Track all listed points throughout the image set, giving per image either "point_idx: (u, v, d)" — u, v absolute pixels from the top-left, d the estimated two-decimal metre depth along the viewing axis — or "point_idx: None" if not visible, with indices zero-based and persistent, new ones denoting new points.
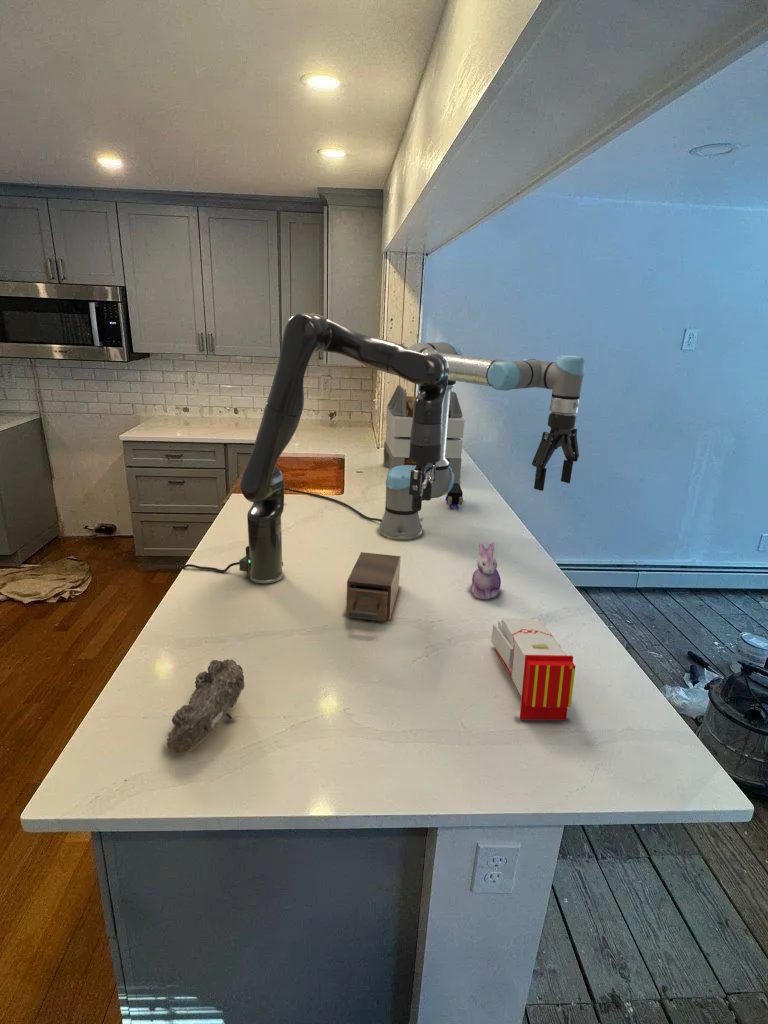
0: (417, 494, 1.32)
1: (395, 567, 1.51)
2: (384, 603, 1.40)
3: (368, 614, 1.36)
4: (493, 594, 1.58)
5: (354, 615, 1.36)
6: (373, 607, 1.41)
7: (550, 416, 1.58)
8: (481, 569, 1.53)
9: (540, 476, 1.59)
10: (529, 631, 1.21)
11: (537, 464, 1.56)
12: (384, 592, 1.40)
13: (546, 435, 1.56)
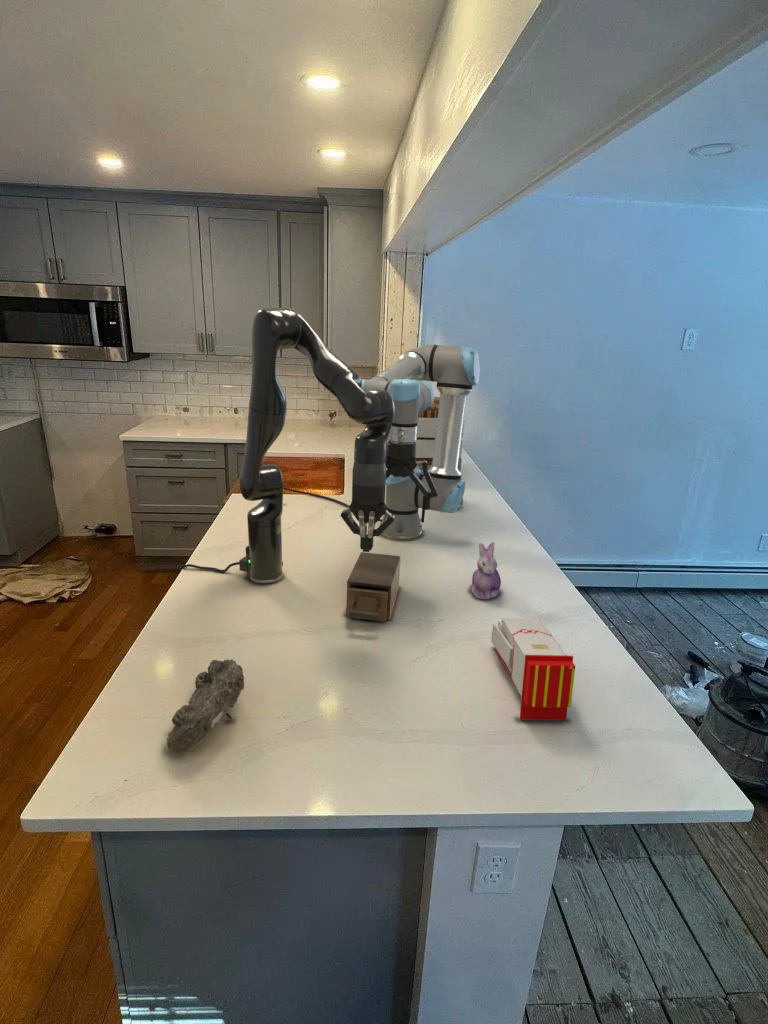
0: None
1: (395, 567, 1.51)
2: (384, 603, 1.40)
3: (368, 614, 1.36)
4: (493, 594, 1.58)
5: (353, 615, 1.36)
6: (373, 607, 1.41)
7: None
8: (481, 569, 1.53)
9: None
10: (529, 631, 1.21)
11: None
12: (384, 592, 1.40)
13: None
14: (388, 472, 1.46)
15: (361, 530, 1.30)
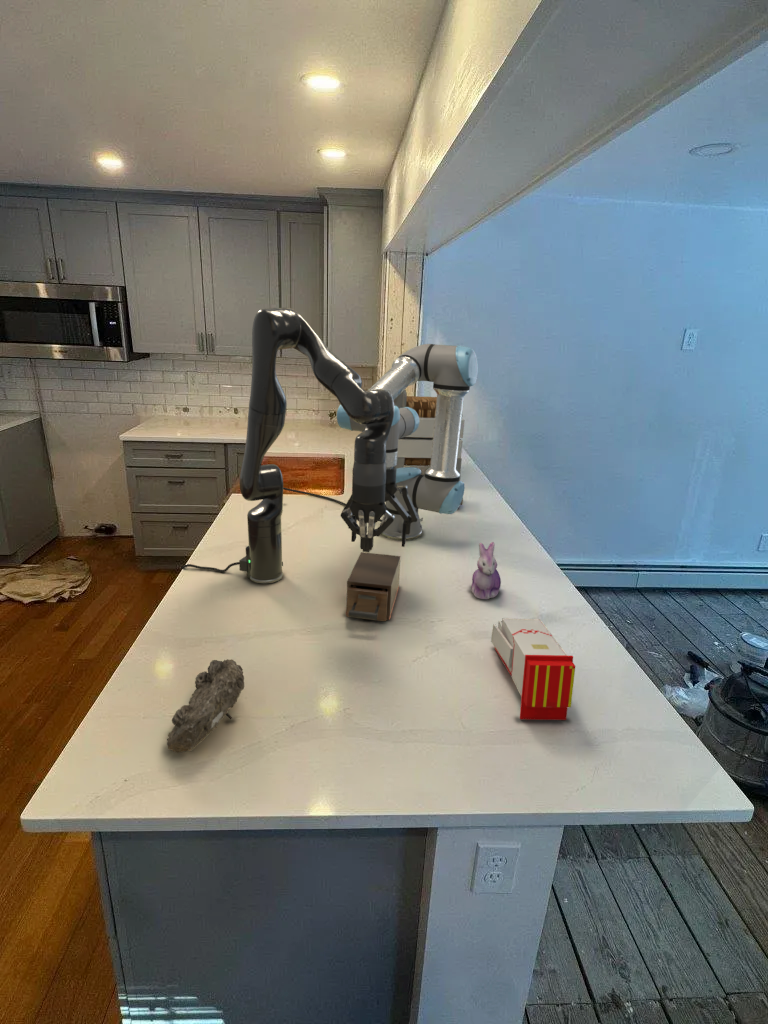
0: None
1: (395, 567, 1.51)
2: (384, 603, 1.40)
3: (368, 614, 1.36)
4: (493, 594, 1.58)
5: (354, 615, 1.36)
6: (373, 607, 1.41)
7: None
8: (481, 569, 1.53)
9: None
10: (529, 631, 1.21)
11: None
12: (384, 592, 1.40)
13: None
14: None
15: (361, 530, 1.30)
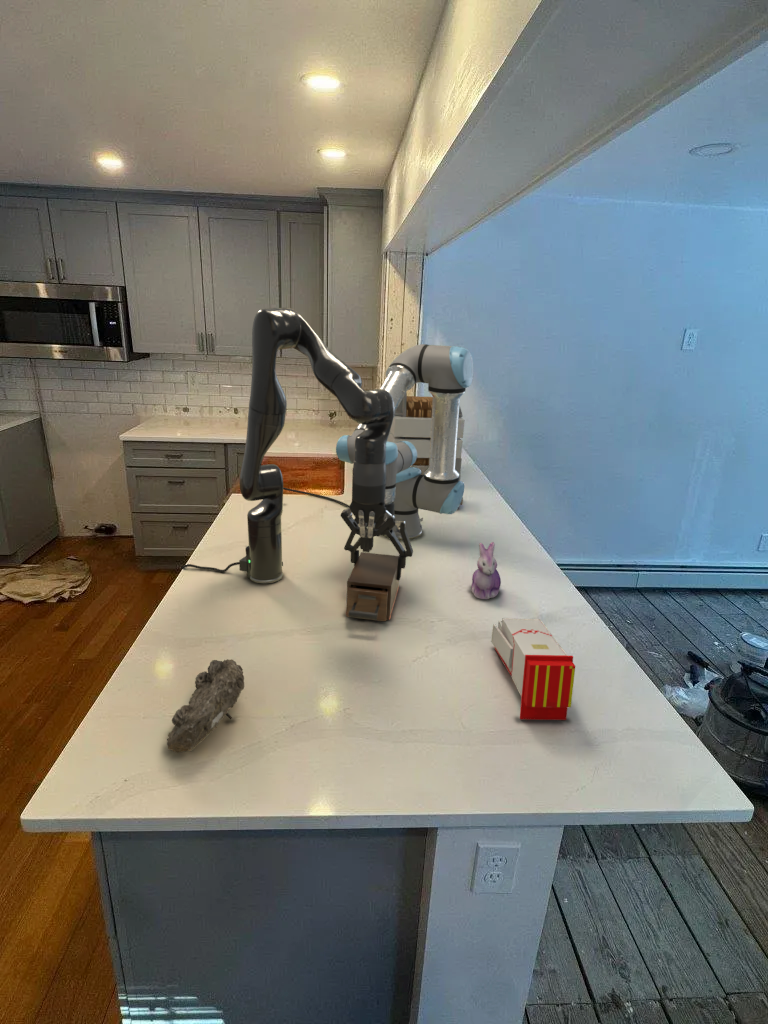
0: None
1: (395, 567, 1.51)
2: (384, 603, 1.40)
3: (368, 614, 1.36)
4: (493, 594, 1.58)
5: (354, 615, 1.36)
6: (373, 607, 1.41)
7: None
8: (481, 569, 1.53)
9: (352, 560, 1.55)
10: (529, 631, 1.21)
11: None
12: (384, 592, 1.40)
13: None
14: None
15: (361, 530, 1.30)
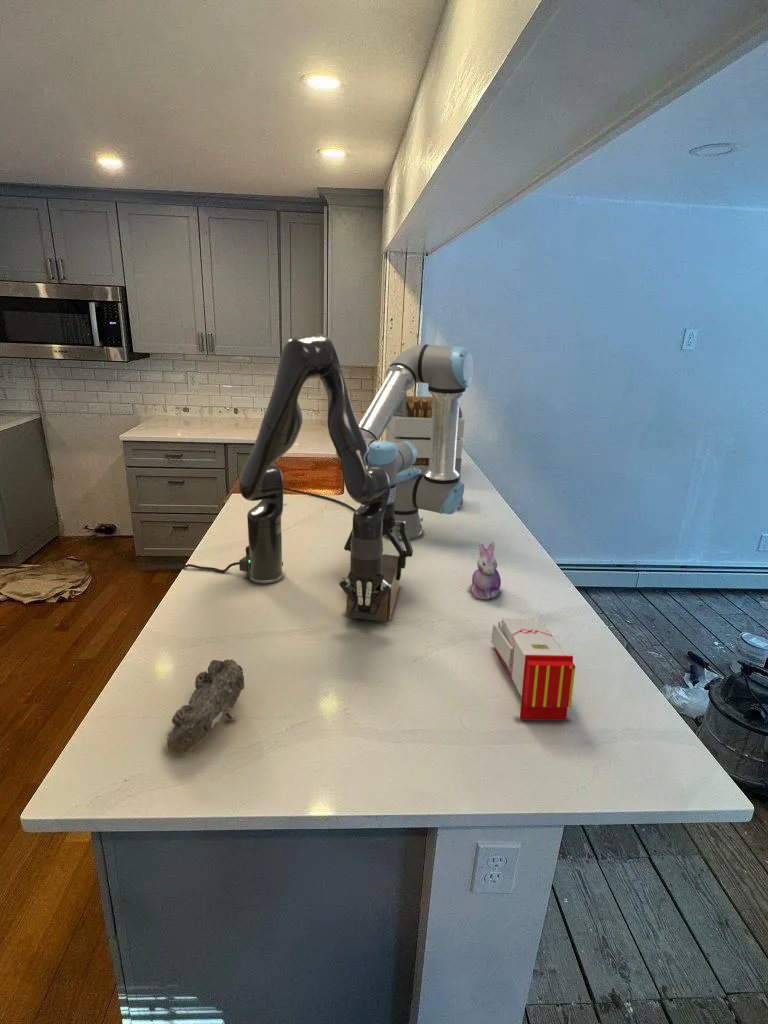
0: None
1: (395, 567, 1.51)
2: (384, 603, 1.40)
3: (368, 614, 1.36)
4: (493, 594, 1.58)
5: (353, 615, 1.36)
6: (373, 607, 1.41)
7: None
8: (481, 569, 1.53)
9: None
10: (529, 631, 1.21)
11: None
12: None
13: None
14: None
15: (359, 598, 1.36)
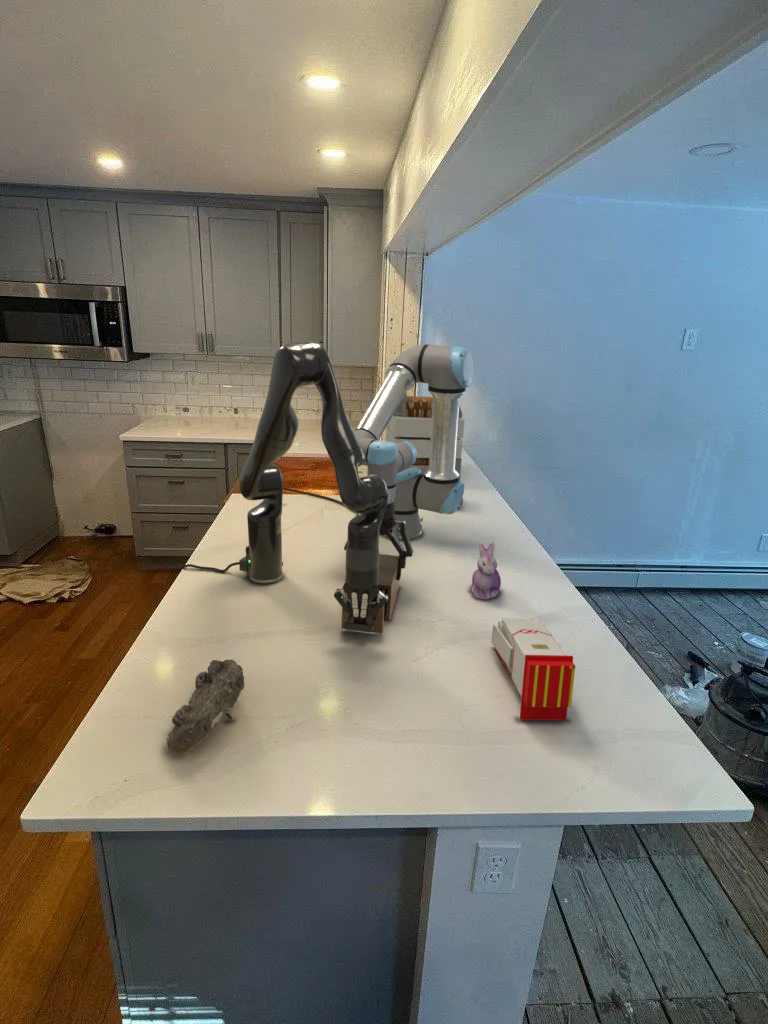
0: None
1: (395, 567, 1.51)
2: (380, 614, 1.35)
3: (364, 626, 1.30)
4: (493, 594, 1.58)
5: (349, 627, 1.31)
6: (369, 619, 1.36)
7: None
8: (481, 569, 1.53)
9: None
10: (529, 631, 1.21)
11: None
12: None
13: None
14: None
15: (354, 610, 1.31)
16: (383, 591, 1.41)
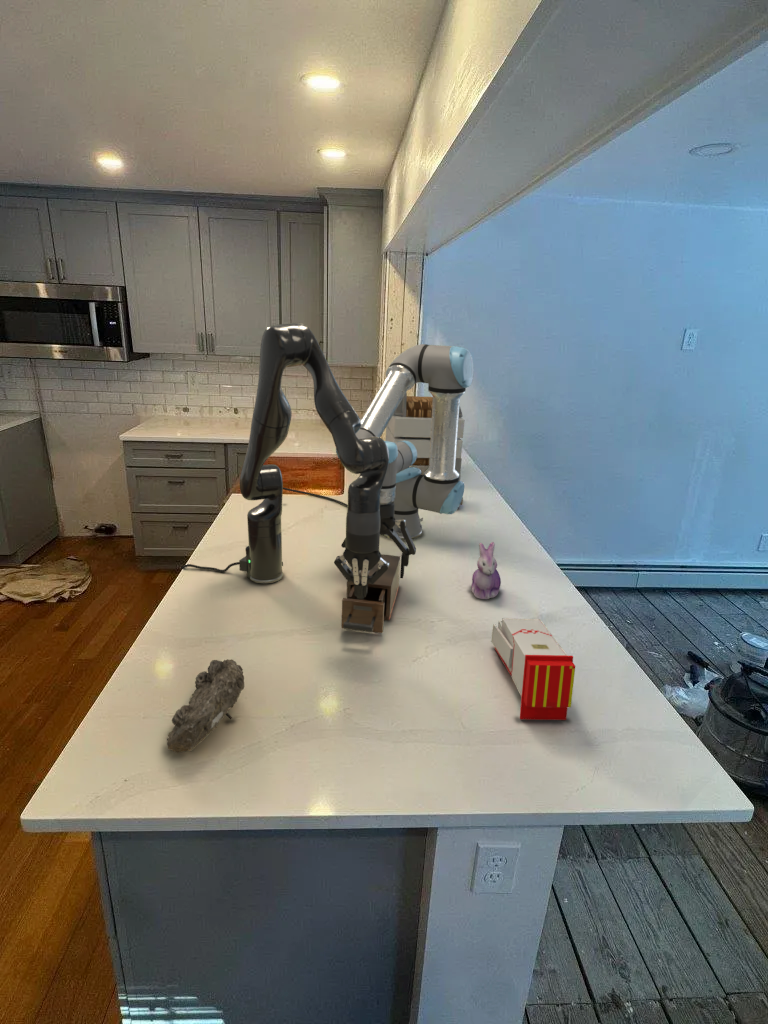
0: None
1: (395, 567, 1.51)
2: (380, 614, 1.35)
3: (364, 626, 1.31)
4: (493, 594, 1.58)
5: (348, 627, 1.31)
6: (369, 618, 1.36)
7: None
8: (481, 569, 1.53)
9: None
10: (529, 631, 1.21)
11: (342, 544, 1.54)
12: (380, 603, 1.35)
13: None
14: None
15: (355, 577, 1.28)
16: (383, 591, 1.41)
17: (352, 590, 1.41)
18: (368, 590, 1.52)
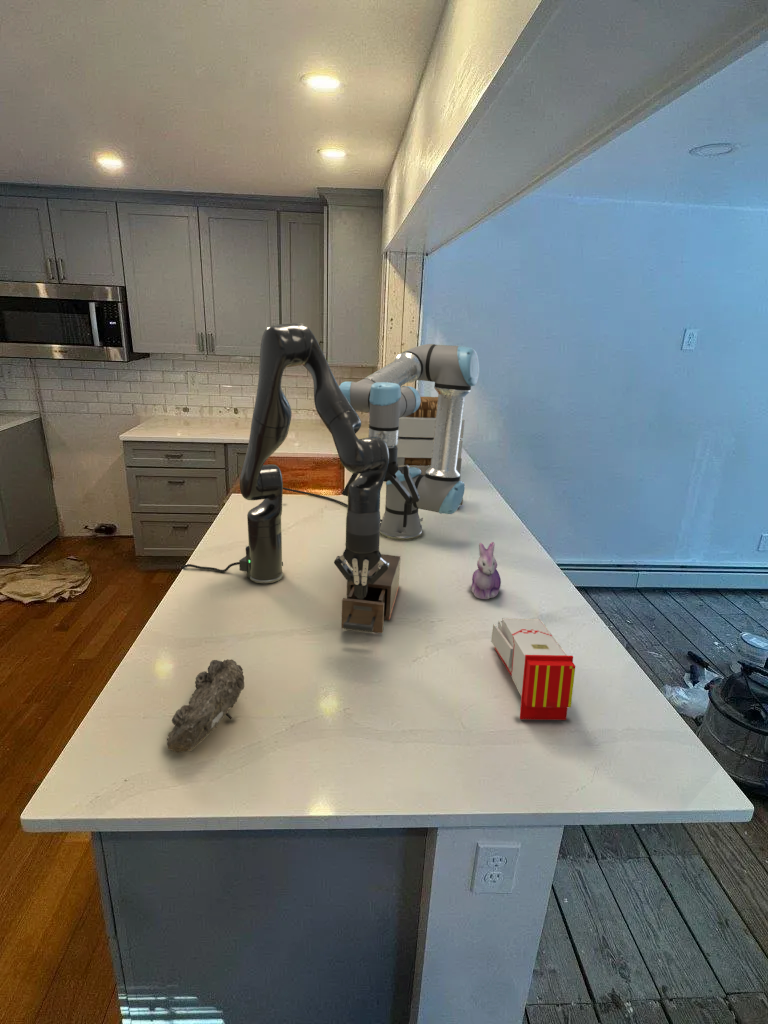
0: None
1: (395, 567, 1.51)
2: (380, 614, 1.35)
3: (364, 626, 1.31)
4: (493, 594, 1.58)
5: (348, 627, 1.31)
6: (369, 618, 1.36)
7: None
8: (481, 569, 1.53)
9: None
10: (529, 631, 1.21)
11: None
12: (380, 603, 1.35)
13: None
14: None
15: (355, 577, 1.28)
16: (383, 591, 1.41)
17: (352, 590, 1.41)
18: (368, 590, 1.52)
